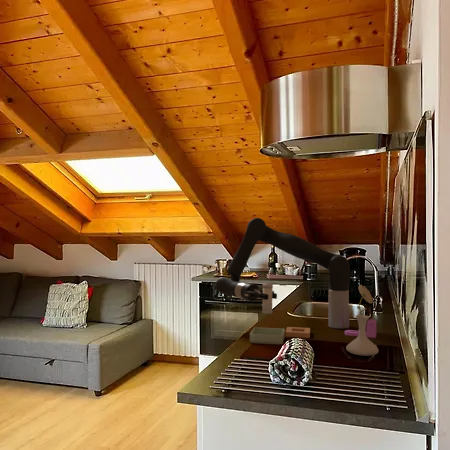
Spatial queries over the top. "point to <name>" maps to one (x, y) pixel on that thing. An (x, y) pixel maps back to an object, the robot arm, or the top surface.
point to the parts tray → (267, 335)
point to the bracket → (369, 333)
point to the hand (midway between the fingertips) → (271, 296)
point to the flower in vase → (362, 330)
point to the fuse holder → (298, 332)
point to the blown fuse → (268, 303)
